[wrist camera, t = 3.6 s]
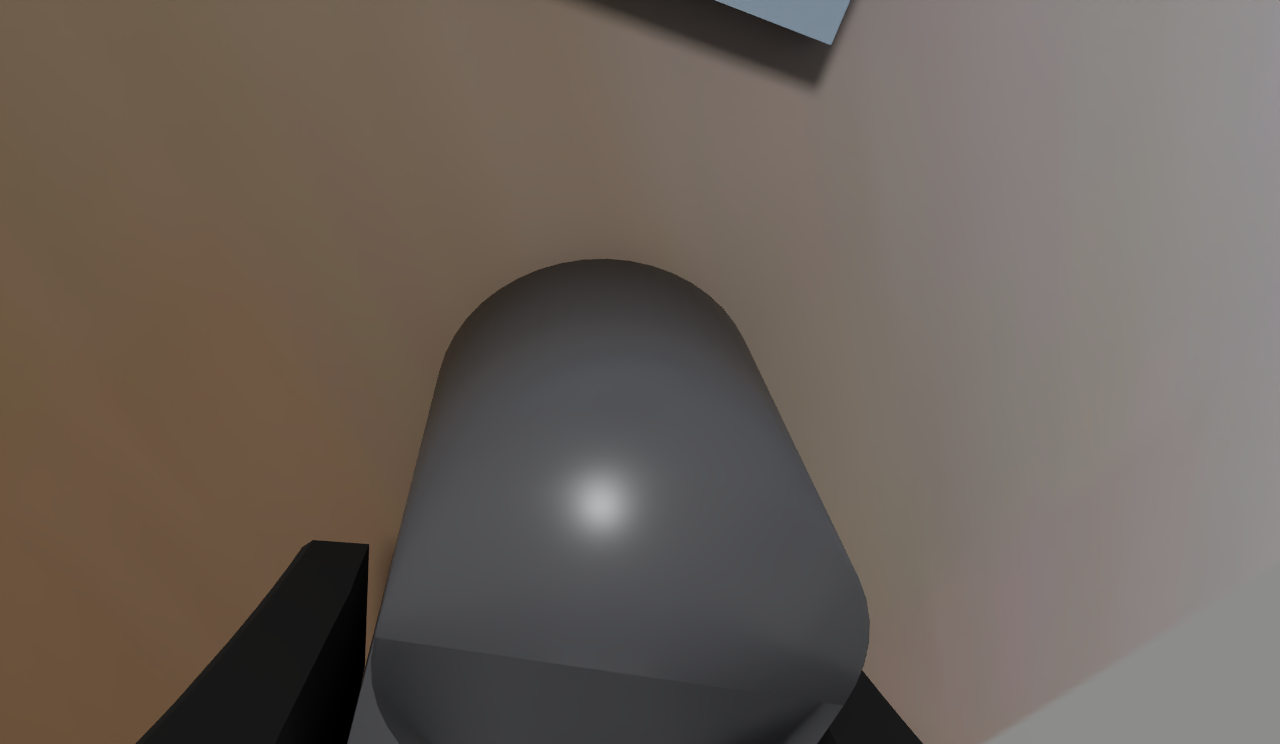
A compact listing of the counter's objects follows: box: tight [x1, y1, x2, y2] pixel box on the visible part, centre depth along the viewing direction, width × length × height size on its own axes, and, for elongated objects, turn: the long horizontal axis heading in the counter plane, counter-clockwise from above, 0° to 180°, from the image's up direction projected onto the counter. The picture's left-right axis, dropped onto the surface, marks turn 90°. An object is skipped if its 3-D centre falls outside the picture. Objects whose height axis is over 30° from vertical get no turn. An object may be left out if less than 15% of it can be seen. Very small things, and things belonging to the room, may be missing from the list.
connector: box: [347, 259, 870, 744], centre depth 9 cm, size 4×10×4 cm, turn 161°
